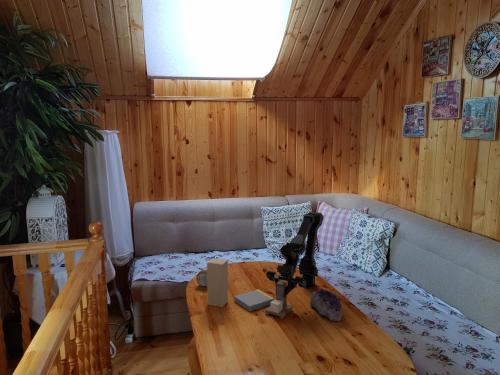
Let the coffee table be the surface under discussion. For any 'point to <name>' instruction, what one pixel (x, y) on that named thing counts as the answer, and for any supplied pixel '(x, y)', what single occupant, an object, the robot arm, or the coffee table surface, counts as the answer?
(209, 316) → the coffee table surface
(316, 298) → the geode
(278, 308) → the box
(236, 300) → the dock
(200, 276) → the tin
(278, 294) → the grey column with base
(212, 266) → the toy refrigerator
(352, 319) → the coffee table surface
